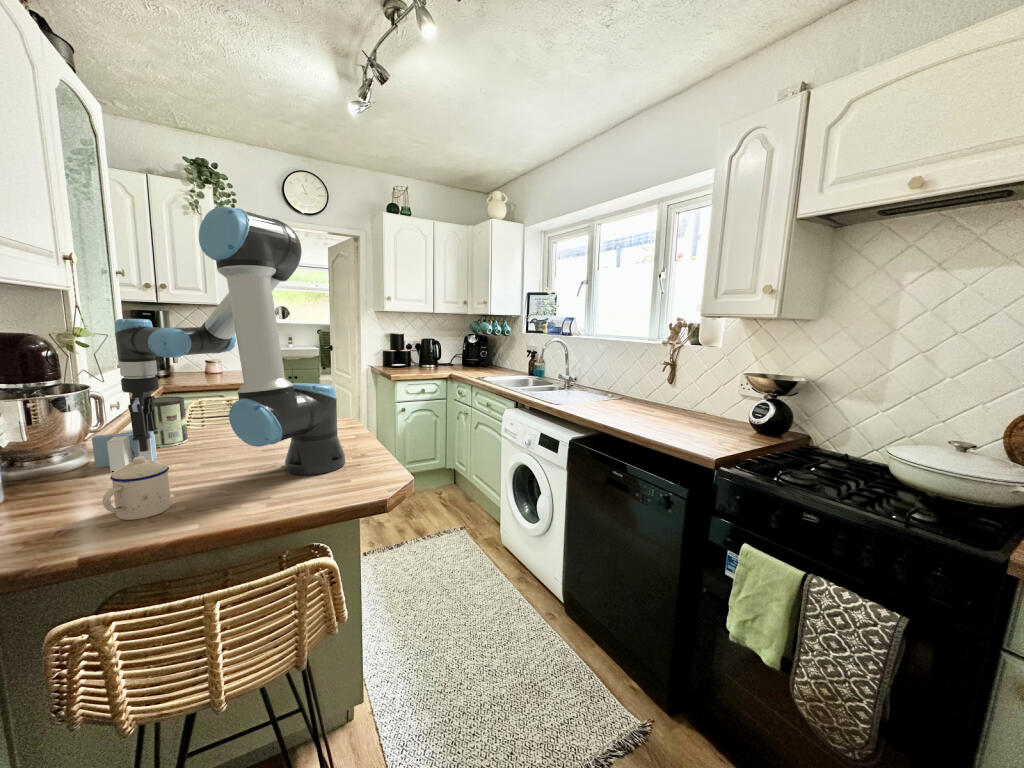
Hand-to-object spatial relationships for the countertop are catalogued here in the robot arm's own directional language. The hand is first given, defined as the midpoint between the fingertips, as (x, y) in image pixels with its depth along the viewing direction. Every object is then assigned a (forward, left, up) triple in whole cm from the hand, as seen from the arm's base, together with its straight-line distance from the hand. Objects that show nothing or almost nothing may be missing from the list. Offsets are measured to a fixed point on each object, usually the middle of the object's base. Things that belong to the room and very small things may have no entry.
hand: (148, 459), depth 117 cm
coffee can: (+18, -1, -1) cm, 18 cm away
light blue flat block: (0, +5, 0) cm, 5 cm away
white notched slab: (0, +4, 0) cm, 5 cm away
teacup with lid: (-39, -8, 0) cm, 40 cm away
